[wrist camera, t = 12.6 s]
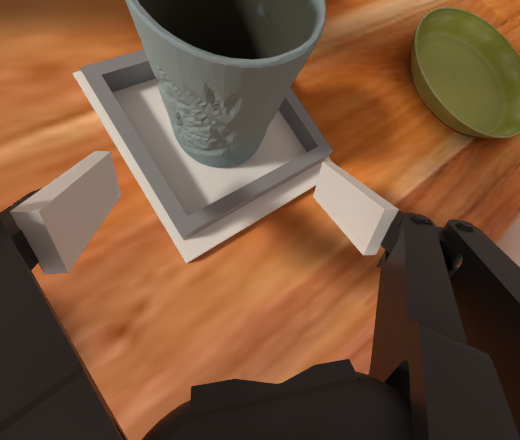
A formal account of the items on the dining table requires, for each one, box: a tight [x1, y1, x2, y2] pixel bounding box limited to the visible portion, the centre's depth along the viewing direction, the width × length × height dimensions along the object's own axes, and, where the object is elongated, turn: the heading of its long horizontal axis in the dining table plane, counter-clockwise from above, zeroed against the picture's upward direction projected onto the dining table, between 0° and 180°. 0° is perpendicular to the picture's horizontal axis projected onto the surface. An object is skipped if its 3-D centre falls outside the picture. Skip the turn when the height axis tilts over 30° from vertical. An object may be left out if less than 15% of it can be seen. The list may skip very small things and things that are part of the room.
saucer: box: [411, 7, 520, 138], centre depth 32 cm, size 21×21×3 cm
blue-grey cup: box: [125, 0, 326, 168], centre depth 17 cm, size 10×10×12 cm
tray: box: [73, 50, 334, 263], centre depth 22 cm, size 20×18×3 cm
